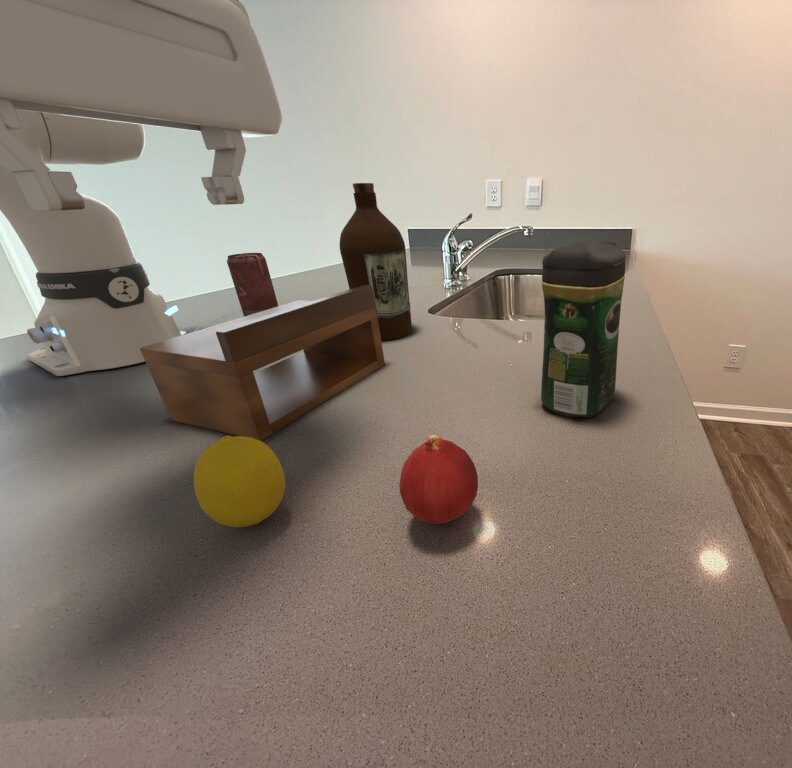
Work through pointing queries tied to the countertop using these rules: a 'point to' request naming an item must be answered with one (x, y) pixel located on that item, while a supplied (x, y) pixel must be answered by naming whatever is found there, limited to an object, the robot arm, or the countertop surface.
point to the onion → (438, 481)
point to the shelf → (262, 345)
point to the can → (252, 282)
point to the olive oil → (377, 262)
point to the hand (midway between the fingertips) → (157, 207)
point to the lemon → (239, 481)
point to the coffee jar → (581, 326)
